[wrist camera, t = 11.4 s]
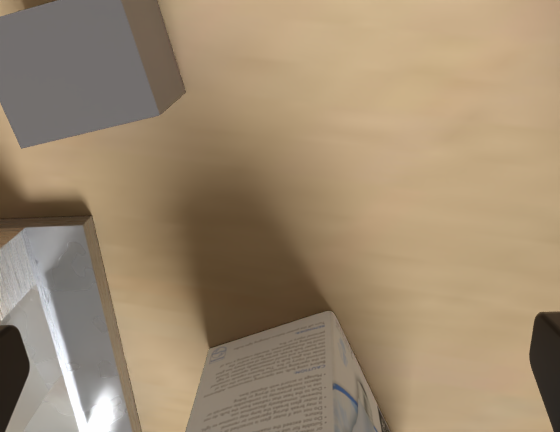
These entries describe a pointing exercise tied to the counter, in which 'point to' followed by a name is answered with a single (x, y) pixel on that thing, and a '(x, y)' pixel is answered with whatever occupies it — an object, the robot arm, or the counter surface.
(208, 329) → the counter surface
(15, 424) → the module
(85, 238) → the mounting plate
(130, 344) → the counter surface
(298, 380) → the light bulb box
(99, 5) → the block
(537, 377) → the robot arm
